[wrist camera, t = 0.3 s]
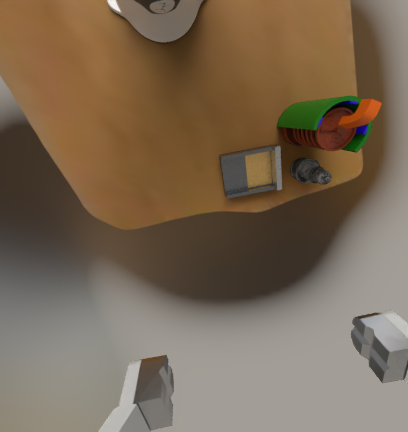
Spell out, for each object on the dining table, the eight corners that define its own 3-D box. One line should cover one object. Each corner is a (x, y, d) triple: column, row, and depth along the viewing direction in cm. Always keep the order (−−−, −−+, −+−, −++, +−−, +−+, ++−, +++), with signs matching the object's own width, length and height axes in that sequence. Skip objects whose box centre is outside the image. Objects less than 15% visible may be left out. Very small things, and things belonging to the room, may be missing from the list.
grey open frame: (225, 195, 56) (228, 200, 52) (219, 154, 52) (222, 157, 49) (275, 185, 56) (282, 189, 53) (273, 144, 52) (280, 145, 49)
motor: (273, 141, 52) (321, 151, 34) (283, 98, 49) (344, 84, 30) (312, 147, 53) (380, 160, 35) (326, 106, 50) (408, 97, 32)
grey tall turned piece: (313, 155, 54) (347, 163, 43) (310, 179, 56) (341, 193, 45) (290, 157, 54) (317, 165, 43) (288, 180, 56) (313, 195, 45)
